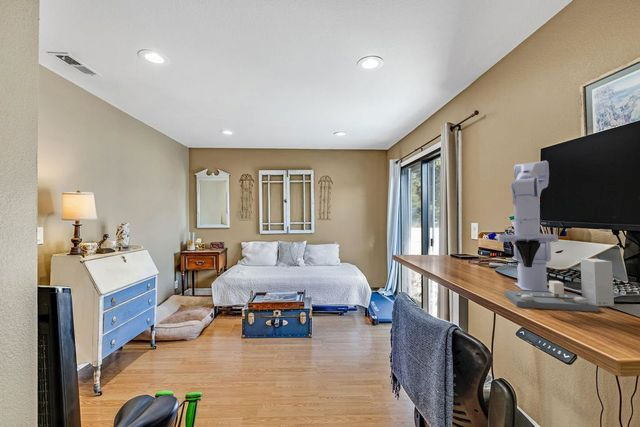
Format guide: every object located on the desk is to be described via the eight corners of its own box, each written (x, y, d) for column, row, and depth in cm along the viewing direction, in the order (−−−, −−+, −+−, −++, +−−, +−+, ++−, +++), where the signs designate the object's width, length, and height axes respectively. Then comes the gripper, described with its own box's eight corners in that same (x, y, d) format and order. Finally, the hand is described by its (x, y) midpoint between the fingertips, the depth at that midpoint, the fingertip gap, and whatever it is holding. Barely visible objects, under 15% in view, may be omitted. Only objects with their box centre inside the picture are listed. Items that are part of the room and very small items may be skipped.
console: (504, 295, 92) (504, 286, 92) (574, 298, 86) (574, 289, 87) (517, 306, 81) (516, 296, 81) (598, 311, 75) (598, 300, 75)
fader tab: (549, 295, 85) (548, 280, 85) (558, 295, 84) (558, 280, 84) (554, 298, 82) (553, 283, 82) (564, 298, 81) (563, 283, 81)
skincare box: (615, 306, 78) (613, 261, 78) (596, 306, 79) (594, 261, 79) (598, 300, 84) (596, 258, 84) (581, 299, 85) (579, 258, 85)
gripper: (501, 220, 84) (503, 268, 84) (562, 219, 80) (564, 269, 80) (495, 220, 91) (496, 264, 91) (551, 219, 86) (552, 265, 86)
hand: (527, 266), depth 86 cm, fingers closed
